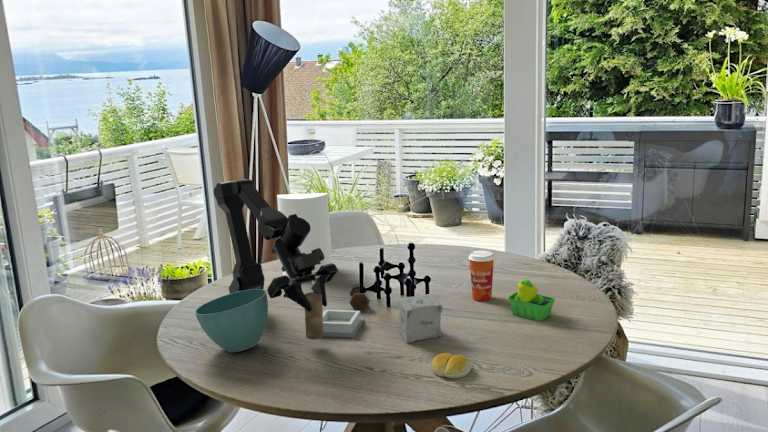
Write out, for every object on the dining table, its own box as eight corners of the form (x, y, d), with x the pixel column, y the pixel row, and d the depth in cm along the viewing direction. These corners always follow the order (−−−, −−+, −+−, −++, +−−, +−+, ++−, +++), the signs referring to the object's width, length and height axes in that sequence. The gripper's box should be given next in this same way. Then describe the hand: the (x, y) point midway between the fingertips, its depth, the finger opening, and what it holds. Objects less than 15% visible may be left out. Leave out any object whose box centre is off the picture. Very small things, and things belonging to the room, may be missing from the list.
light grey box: (407, 345, 173) (406, 306, 171) (397, 333, 181) (396, 296, 179) (443, 339, 176) (442, 301, 174) (432, 328, 184) (431, 291, 181)
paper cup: (466, 301, 203) (465, 256, 200) (472, 293, 210) (472, 249, 207) (492, 303, 200) (491, 257, 197) (497, 295, 207) (497, 251, 204)
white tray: (306, 335, 182) (305, 323, 182) (319, 319, 194) (318, 307, 193) (353, 337, 180) (352, 324, 179) (363, 320, 191) (363, 309, 190)
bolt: (360, 299, 214) (362, 315, 200) (345, 293, 214) (347, 307, 199) (368, 283, 214) (371, 297, 199) (354, 276, 213) (356, 290, 198)
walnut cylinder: (303, 338, 172) (302, 297, 170) (309, 331, 176) (307, 291, 174) (320, 340, 171) (318, 298, 169) (325, 333, 176) (324, 292, 173)
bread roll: (441, 361, 164) (440, 345, 163) (475, 368, 159) (475, 352, 158) (424, 374, 157) (423, 358, 156) (459, 382, 152) (459, 366, 151)
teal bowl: (240, 362, 162) (226, 313, 160) (193, 359, 173) (180, 314, 172) (292, 332, 176) (280, 287, 175) (245, 331, 188) (233, 289, 186)
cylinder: (330, 279, 230) (325, 197, 224) (279, 281, 231) (272, 199, 225) (334, 264, 247) (329, 188, 241) (286, 266, 248) (281, 190, 242)
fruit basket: (556, 315, 189) (556, 276, 187) (539, 325, 183) (540, 284, 180) (520, 307, 197) (520, 269, 194) (503, 315, 190) (503, 277, 188)
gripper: (269, 247, 165) (298, 301, 159) (332, 233, 177) (360, 282, 171) (255, 271, 173) (282, 324, 167) (316, 256, 184) (343, 305, 179)
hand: (318, 308), depth 171 cm, fingers closed on walnut cylinder, 4 cm apart
